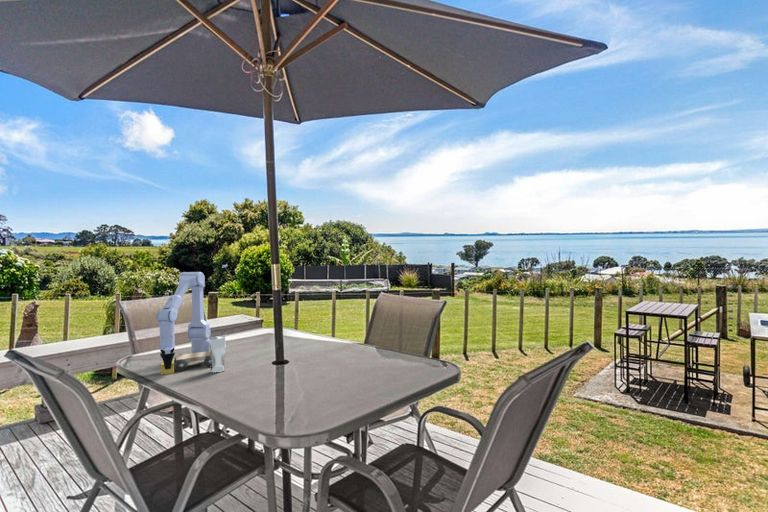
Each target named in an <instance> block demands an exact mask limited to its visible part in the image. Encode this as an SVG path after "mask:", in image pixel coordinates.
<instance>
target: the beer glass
mask: <svg viewBox="0 0 768 512" xmlns="http://www.w3.org/2000/svg"><path fill="white" fill-rule="evenodd" d="M208 339H209V354H210V359H211V367H210V373H211V372H213V373H212V374H217V373H216V372H221V373H223V372H222V371H224V370H225V371H226V366H225V357H226V353H227V352H226V351H227V344H226V336H225V335H216V336H211V337H209V338H208ZM225 371H224V372H225ZM214 372H215V373H214Z"/></svg>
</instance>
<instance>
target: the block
mask: <svg viewBox="0 0 768 512" xmlns="http://www.w3.org/2000/svg"><path fill="white" fill-rule="evenodd" d="M170 373H171V374H175V362H174V360H172V365H171V369H165V367H164V362H160V375H161V376H163V374H165V375H169V374H170ZM171 374H170V375H171Z"/></svg>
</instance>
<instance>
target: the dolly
mask: <svg viewBox="0 0 768 512" xmlns="http://www.w3.org/2000/svg"><path fill="white" fill-rule="evenodd" d="M173 361H174V369H175V370H176V371H178V372H184V371H185V370H186V369H187V368H188V366H189V365H188V364H189V363H188V362H195V361H204V365H205V366H206V367H208V366H211V359H210V354H209V351H206V352H199V353H192V352H190V353H185V354H183V353H179V354H177V355H176V354H175V356H174V358H173ZM183 370H184V371H183Z"/></svg>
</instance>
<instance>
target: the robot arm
mask: <svg viewBox="0 0 768 512" xmlns="http://www.w3.org/2000/svg"><path fill="white" fill-rule="evenodd" d="M205 276H206V275H204V273H203V272H201V271H188V272H187V271H183V272H181V273H180V274H179V277H178V282H179V283H178V286H177V287H176V289H175V291H174V294H173V295H170V296H169V298H168V299H167V301H166V303H165V304H164V306H163V308H162V309H160V310H158V311H157V313H156V316H155V318H156V321H157V325H158V327H159V346H156V350H159V351H160V354H159V355H160V358H161V359H162V361H163V362H164V367H165V369H171V365H172V361H174V358H175V356H176V352H175V348H176V344H175V338H176V337H175V334H176V333H175V322H176V320H177V319H178V314H179V310H180V309H179V308H180V307H181V305H182V303H183V296H184V295H185V294H186V292H187V291H188V289H190V290H191V302H192V303H191V305H192V307H191V308H192V310H191V312H192V321H191V322H190V323H188V325H187V331H186V336H187V338H188V339H189V341H190V342H191V345H190V348H191V353H199V352H206V351H209V338H210V336H211V334H212V329H211V327H210V326H211V325H210V323H209V322H208V321H206V320H205V315H204V314H205V311H204V309H205V306H204V304H205V303H204V288H205V287H206V284H205V283H206V281H205V279H206V277H205Z"/></svg>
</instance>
